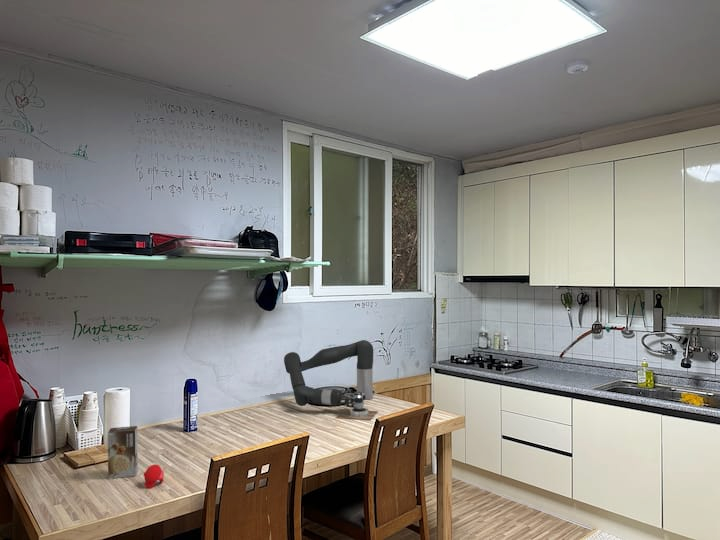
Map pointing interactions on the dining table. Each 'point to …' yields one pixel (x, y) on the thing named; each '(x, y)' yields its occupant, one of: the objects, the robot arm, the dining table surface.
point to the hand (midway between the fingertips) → (363, 399)
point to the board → (346, 415)
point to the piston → (358, 406)
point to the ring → (359, 413)
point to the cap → (153, 476)
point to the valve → (353, 403)
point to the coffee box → (122, 452)
